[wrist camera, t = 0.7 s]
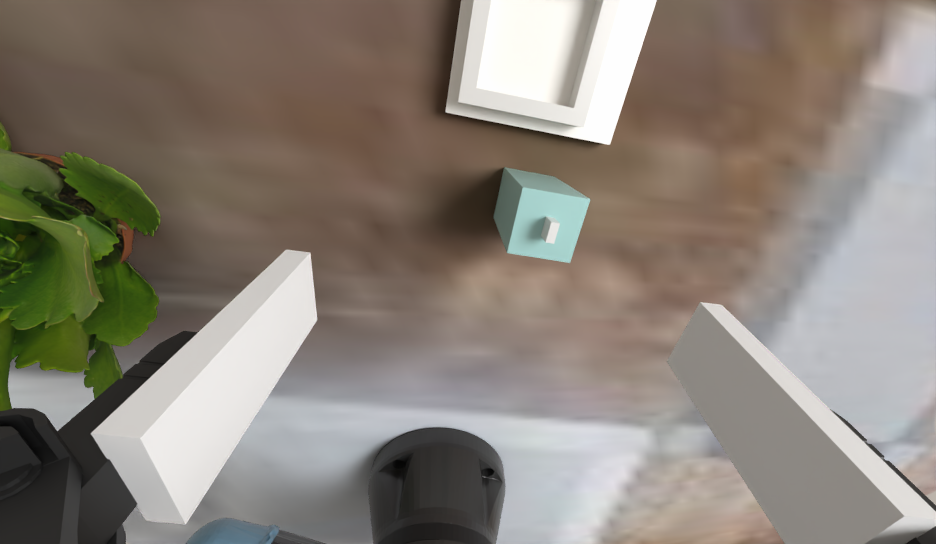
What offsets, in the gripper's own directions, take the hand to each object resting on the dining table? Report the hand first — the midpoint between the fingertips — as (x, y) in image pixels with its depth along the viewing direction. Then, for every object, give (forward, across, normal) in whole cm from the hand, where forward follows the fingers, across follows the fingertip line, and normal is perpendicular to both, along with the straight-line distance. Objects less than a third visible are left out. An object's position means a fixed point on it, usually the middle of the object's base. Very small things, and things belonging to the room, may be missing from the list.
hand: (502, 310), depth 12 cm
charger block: (+18, -3, +1) cm, 18 cm away
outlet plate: (+19, -2, -11) cm, 22 cm away
